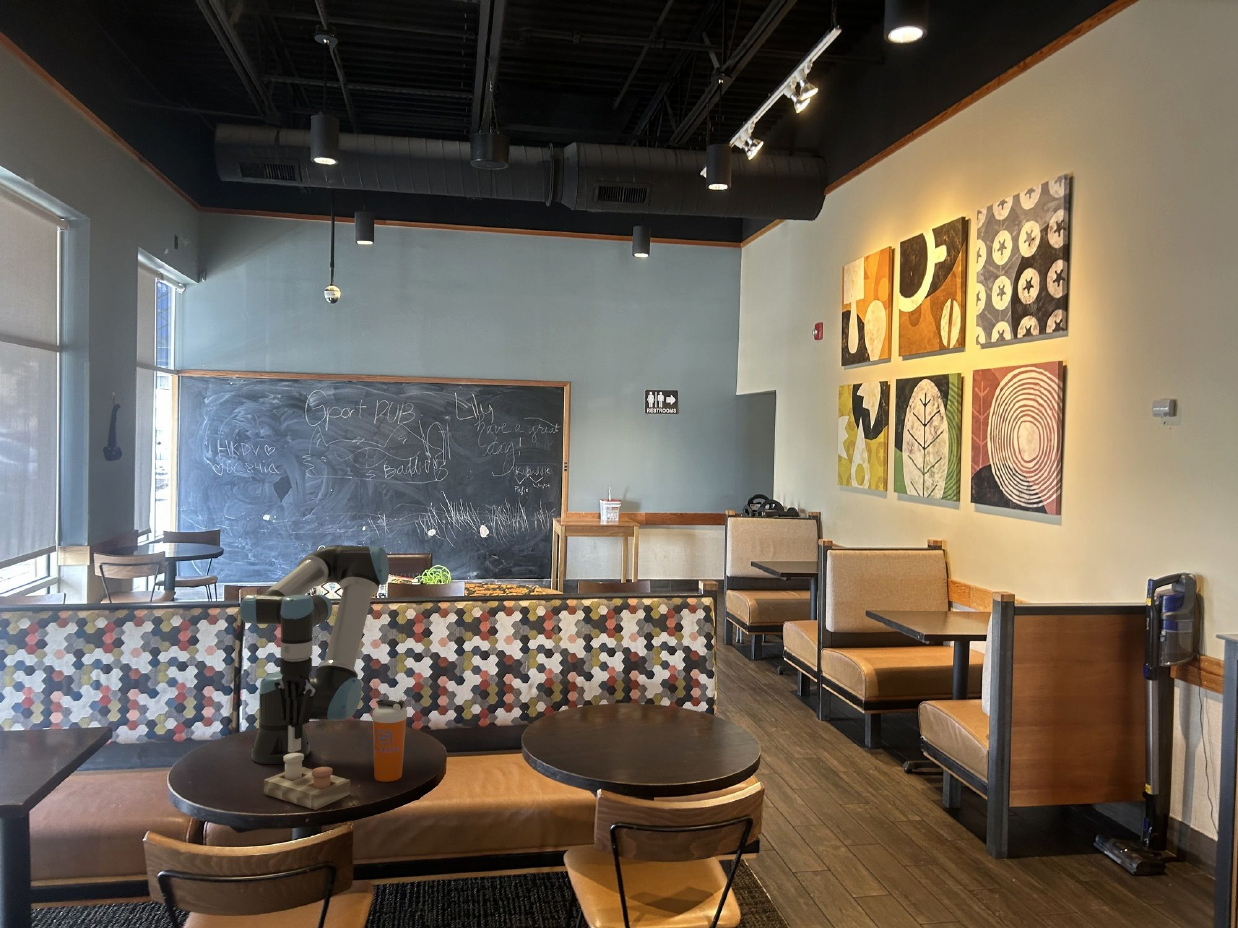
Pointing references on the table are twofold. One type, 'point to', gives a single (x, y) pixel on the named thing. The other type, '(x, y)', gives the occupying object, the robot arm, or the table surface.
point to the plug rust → (321, 777)
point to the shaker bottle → (389, 739)
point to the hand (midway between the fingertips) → (294, 750)
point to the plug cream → (293, 766)
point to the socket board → (306, 789)
